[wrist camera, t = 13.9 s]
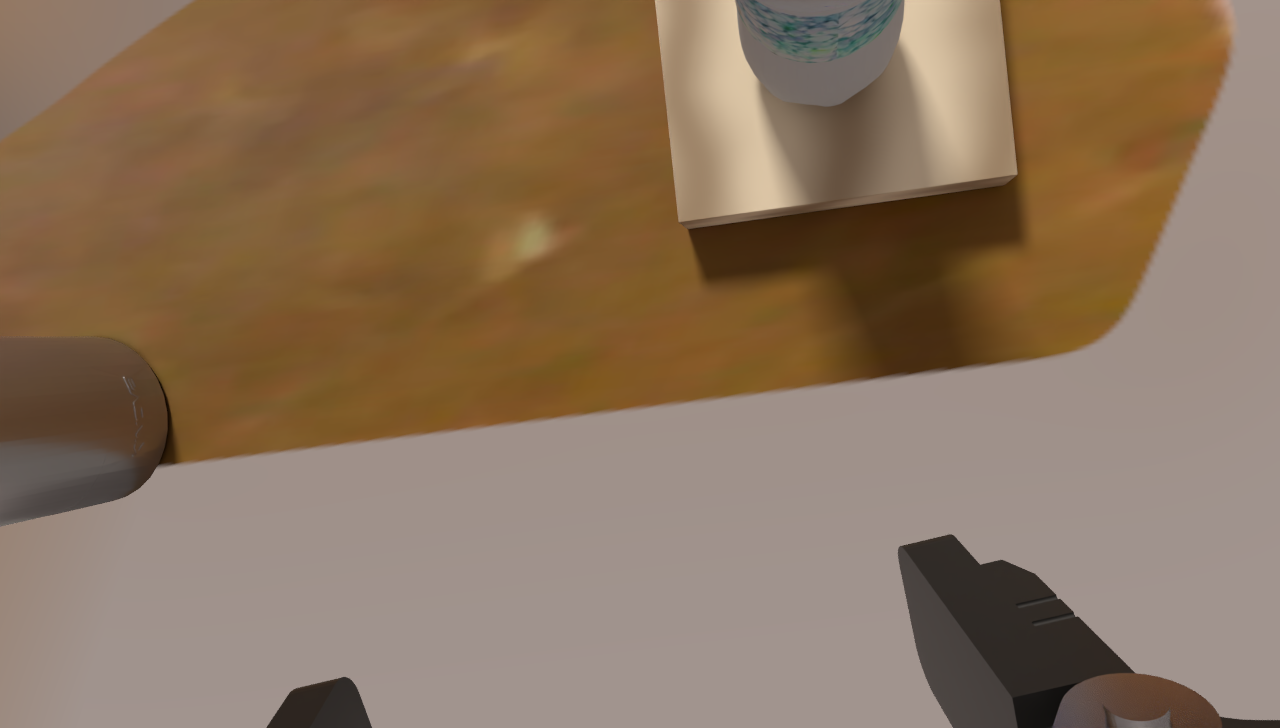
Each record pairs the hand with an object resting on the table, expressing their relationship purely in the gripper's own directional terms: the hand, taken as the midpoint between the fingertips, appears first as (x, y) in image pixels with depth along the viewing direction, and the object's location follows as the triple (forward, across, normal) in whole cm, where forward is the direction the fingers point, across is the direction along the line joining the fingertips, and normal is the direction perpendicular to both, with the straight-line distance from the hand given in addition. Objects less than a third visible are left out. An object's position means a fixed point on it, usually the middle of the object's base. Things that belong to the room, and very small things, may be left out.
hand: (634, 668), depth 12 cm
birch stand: (+29, -11, -10) cm, 33 cm away
